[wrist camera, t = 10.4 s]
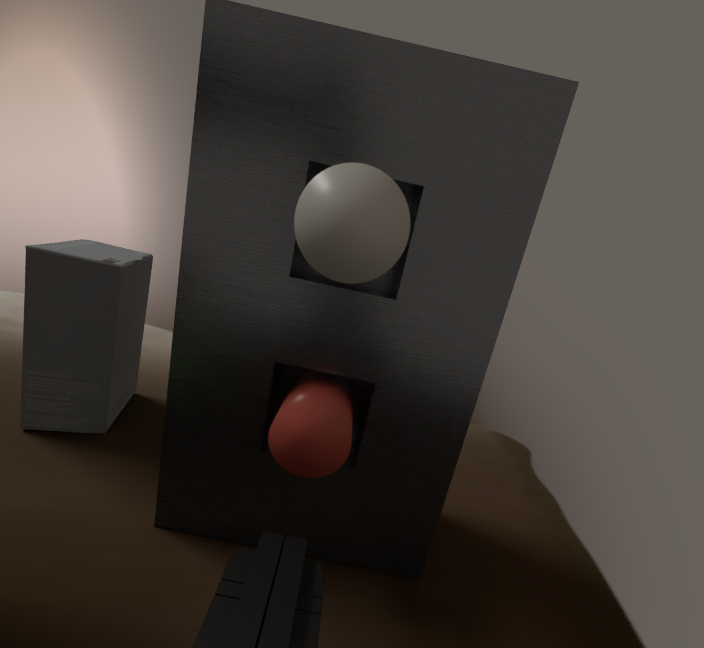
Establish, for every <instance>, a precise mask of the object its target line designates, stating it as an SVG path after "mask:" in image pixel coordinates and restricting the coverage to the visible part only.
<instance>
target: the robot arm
mask: <svg viewBox="0 0 704 648" xmlns="http://www.w3.org/2000/svg"><path fill="white" fill-rule="evenodd" d="M284 537H285V535H282V534H276V533H271V532H266V531H263V533H262V535H261V538H260V541H259V544H258V547H257V550H255V549H250V548H245V547H241V548H240V550H239V551H238V552H237V553H236V554H235V555H234V556H233V557H232V558H231V559H230V560H229V562H228V565H227V567H226V569H225V572H224V574H223V576H222V579H221V582H220V583H219V586H218V588H217V591H216V593H215V596H214V598H213V600H212V602H211V605H210V607H209V610H208V612H207V614H206V617H205V619H204V621H203V624H202V626H201V628H200V631H199V633H198V636H197V638H196V640H195V643H194V645H193V647H192V648H317V646H318V637H319V628H320V618H321V617H320V616H321V609H322V598H323V590H324V580H325V578H324V575H323V571H322V568H321V564H320V562H318V561H313V560H308V559H304V558H305V552H306V547H307V541H308V539H303V538H298V537H292V536H286V539H285V543H284V547H283V542H284ZM282 547H283V551H282ZM281 552H282V555H281ZM280 557H281V558H280Z"/></svg>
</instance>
